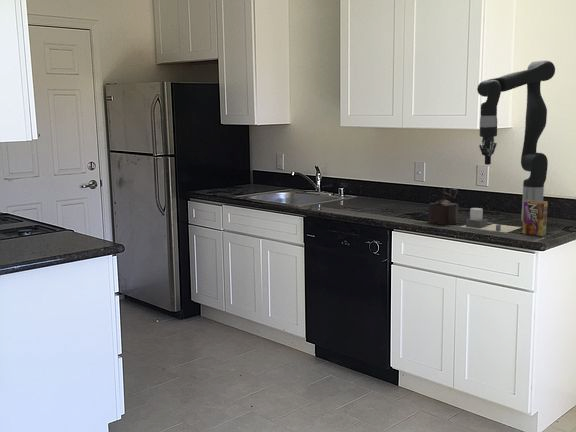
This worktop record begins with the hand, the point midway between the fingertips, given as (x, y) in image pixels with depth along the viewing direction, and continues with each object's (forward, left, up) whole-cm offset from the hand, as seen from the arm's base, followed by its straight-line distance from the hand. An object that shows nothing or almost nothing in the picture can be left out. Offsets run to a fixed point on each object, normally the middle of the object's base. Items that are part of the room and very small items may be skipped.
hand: (487, 164), depth 295 cm
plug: (+5, -2, -28) cm, 28 cm away
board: (+3, +4, -29) cm, 29 cm away
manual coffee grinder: (+3, -18, -29) cm, 35 cm away
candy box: (+6, +25, -29) cm, 39 cm away
